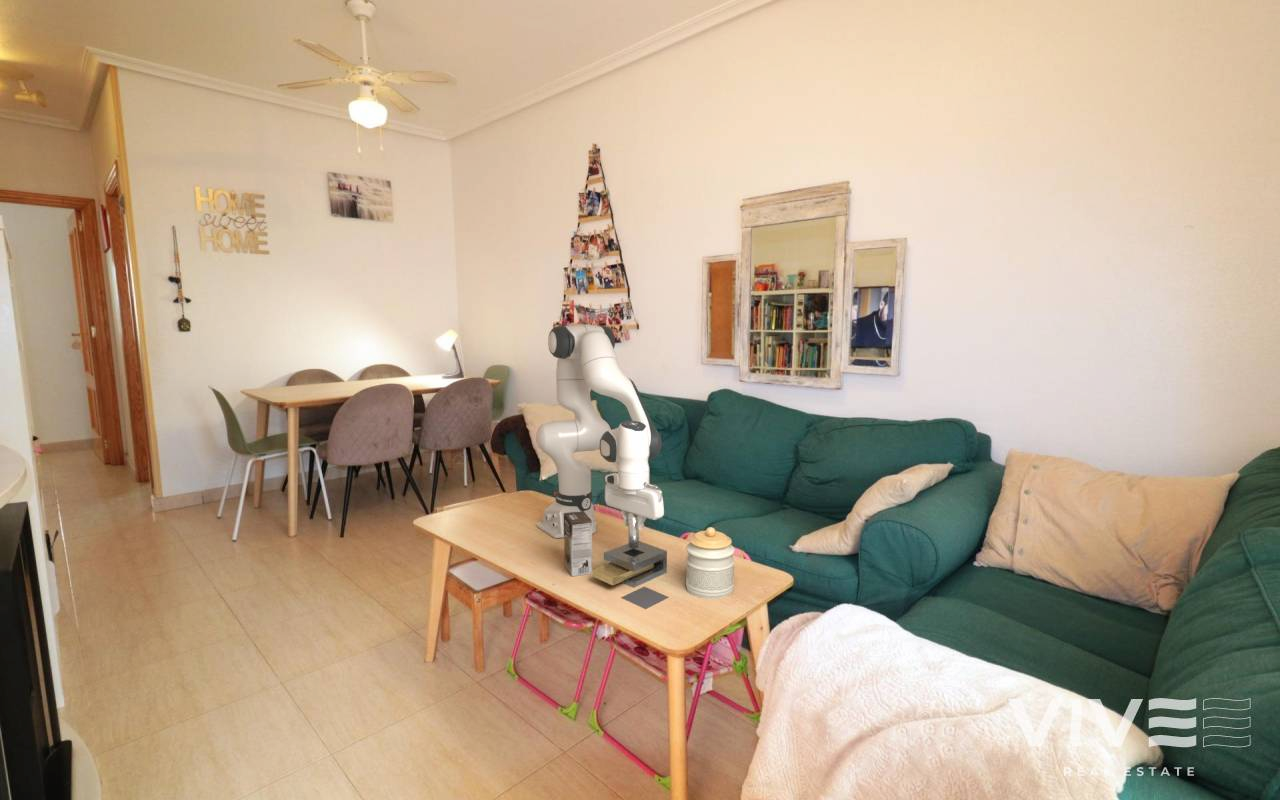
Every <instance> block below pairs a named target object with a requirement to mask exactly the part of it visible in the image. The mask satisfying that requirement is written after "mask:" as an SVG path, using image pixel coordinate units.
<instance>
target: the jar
mask: <svg viewBox="0 0 1280 800" xmlns="http://www.w3.org/2000/svg"><path fill="white" fill-rule="evenodd" d="M732 543H733V541H732V538H731V537H729V536H728V535H726V534H725V533H723V532H720V531H718V530H716V529H715V528H714V527H712V526H710V527H707V528H706V529H705V530H700V531H697V532H696V533H695V534H693V535H691V536H690V537H689V543H687V544H686V546H685V547H686V548H685V549H686V552H687V557H686V559H685V562H686V579H685V587H686V590H687V592H688V594H690V595H692V596H695V597H697V598H700V599H703V600H704V599H705V600H720V599H719V598H721V599H724V598H723V597H725V598H727V597H729V596H731V595H732V594H733V592H734V588H735V582H734V581H735V580H734V574H735V573H734V572H735V569H734V567H735V558H734V557H733V555H734V554H735V550H736V549H735V547H734V545H732ZM732 591H733V592H732ZM731 593H732V594H731ZM730 594H731V595H730ZM728 595H729V596H728ZM726 596H727V597H726Z"/></svg>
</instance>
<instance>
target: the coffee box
mask: <svg viewBox="0 0 1280 800" xmlns="http://www.w3.org/2000/svg"><path fill="white" fill-rule="evenodd" d="M563 539H564V541H563V546H564V548H563V549H564V550H563V551H564V565H565V567H566V569H567V571H568V573H569V575H570V576H571V577H578V576H586V575H593V534H592V520H591V519H590V518H589V517H588V516H587V515H586V513H585V512H584V511H582V512H570V513H564V537H563Z"/></svg>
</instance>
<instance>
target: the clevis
mask: <svg viewBox="0 0 1280 800" xmlns="http://www.w3.org/2000/svg"><path fill="white" fill-rule="evenodd" d="M603 560H604V561H606V562H608V563H606V564H604V565H600V566H598V567H596V568H592V577H593V578H595V579H597V580H600V581H601V582H604V583H607V584H608V585H611V586H615V585H617V584H620V583H622V584H625V585H627V586H629V587H630V588H633V589H635V588H636V587H639V586H642V585H643V584H645V583H648V582H650V581H651V580H654V579H656V578H658V577H660V576H662V575H665V574H667V573H668V551H667V550H666V549H663V548H659V547H658V546H654V545H652V544H649V543H646V542H643V541H641V540H639V547H638V548H629V547H628V543H626V544H623V545H621V546H617V547H615V548H613V549H610V550H607V551H605V552H603Z"/></svg>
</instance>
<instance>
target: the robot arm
mask: <svg viewBox="0 0 1280 800" xmlns="http://www.w3.org/2000/svg"><path fill="white" fill-rule="evenodd" d="M547 345H548V350H549V352H550V354H551V355H552V356H553V357H554V358H557V361H556V371H555V373H556V375H555V377H556V378H555V379H556V400H557V403H558V405H559V406H560V407H562V408H564V409H565V410H568V411H570V412H572V413H573V415H574V419H569V420H568V419H566V420H554V421H549V422H545V423H542V424H541V425H540V426H539V427H538V428H537V430H536V433H535V443H536V445H537V447H538V449H540V450H541V452H543V453H545V454H546V455H547V456H548V457H549V458H550V459H551V460H552V461H553V463H554V465H555V468H556V472H557V479H558V491H554V492H553V493H554V495H553V496H556V497H555V500H554V501H553V502H552V503H551V504H550V505H549V506H547V507H546V508H545V509H544V511H543V517H542V518H543V519H541V520H539V521H538V522H537V523H536V527H537V528H539V529H540V530H542V531H543V532H545V533H546V534H548V535H549V536H551V537H552V538H554V539H560V538H563V539H564V513H570V512H582V511H584V512H585V513H586V515H587V516H588V517H589V518H590V519H591V520H592V535H593V534H595V533H596V532H597V526H598V522H597V521H596V518H595V507H594V504H593V497H594V495H593V490H592V471H591V469H590V467H589V466H588V464H586V463H584V462H582V461H580V460H577V459H575V458H574V454H575V453H581V452H594V451H598V450H599V454H600V456H601V457H602V458H603V459H604V460H605V461H606V462H608V463H614V464H615V463H617V464H618V468H617V471H615V472H612V473H609V474H606V475H605V476H604V481H605V486H604V502H605V504H606V505H607V506H608V507H611V508H614V509H618V510H620V513H621V516H622V519H623V521H624V522H623V524H624V526H626V527H628V512H630V513H633V514H636V515H638V519H639V521H638V523H635V526H636V527H635V528H636V529H638V530H639V531H642V530H643V529H644V524H645V522H646V519H649V520H654V521H656V520H659V519H662V518H663V516H664V514H665V509H664V506H665V505H664V498H663V491H662V490H661V489H660V487H659V486H658V485H656V484H651V483H650V465H649V461H653V460H654V459H655V458H656V457H657V456H658V455H659V453H660V452H661V449H662V442H663V441H662V437H661V435H660V433H659V431H658V429H657V428H656V426H655V424H654V423H653V422H652V419H651V417H650V415H649V412H648V409H647V407H646V405H645V403H644V401H643V399H642V397H641V394H640V392H639V390H638V387H637V385H636V384H635V382H634V381H633V380H632V379H631V378H629V377H628V376H627V375H626V374H625V373H624V372H623V370H622V369H621V367H620V365H619V361H618V358H617V354H616V352H615V345H616V337H615V334H614V331H613V330H612V328H610V327H609V326H606V325H602V324H598V325H594V324H583V323H582V324H575V325H573V324H572V325H563V324H562V325H559V326H555V327H552V328H551V330H550V331H549V334H548V338H547ZM591 390H592V391H593V392H595V393H597V394H598V395H601V396H605V397H609V398H611V399H615V400H617V401H619V402H620V403H621V404H623V405H624V406H625V407H626V409H627V412H628V413H629V416H630V419H631V420H625V421H622V422H620V424H619V425H618V427H616V428H614V429H611V427H610V424H609V423H608V422H607V421H606V420H604V419H603V418H602V417H601V416H599V415H598V413H597V411H596V410H595V408H594V406H593V404H592V398H591Z"/></svg>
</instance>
